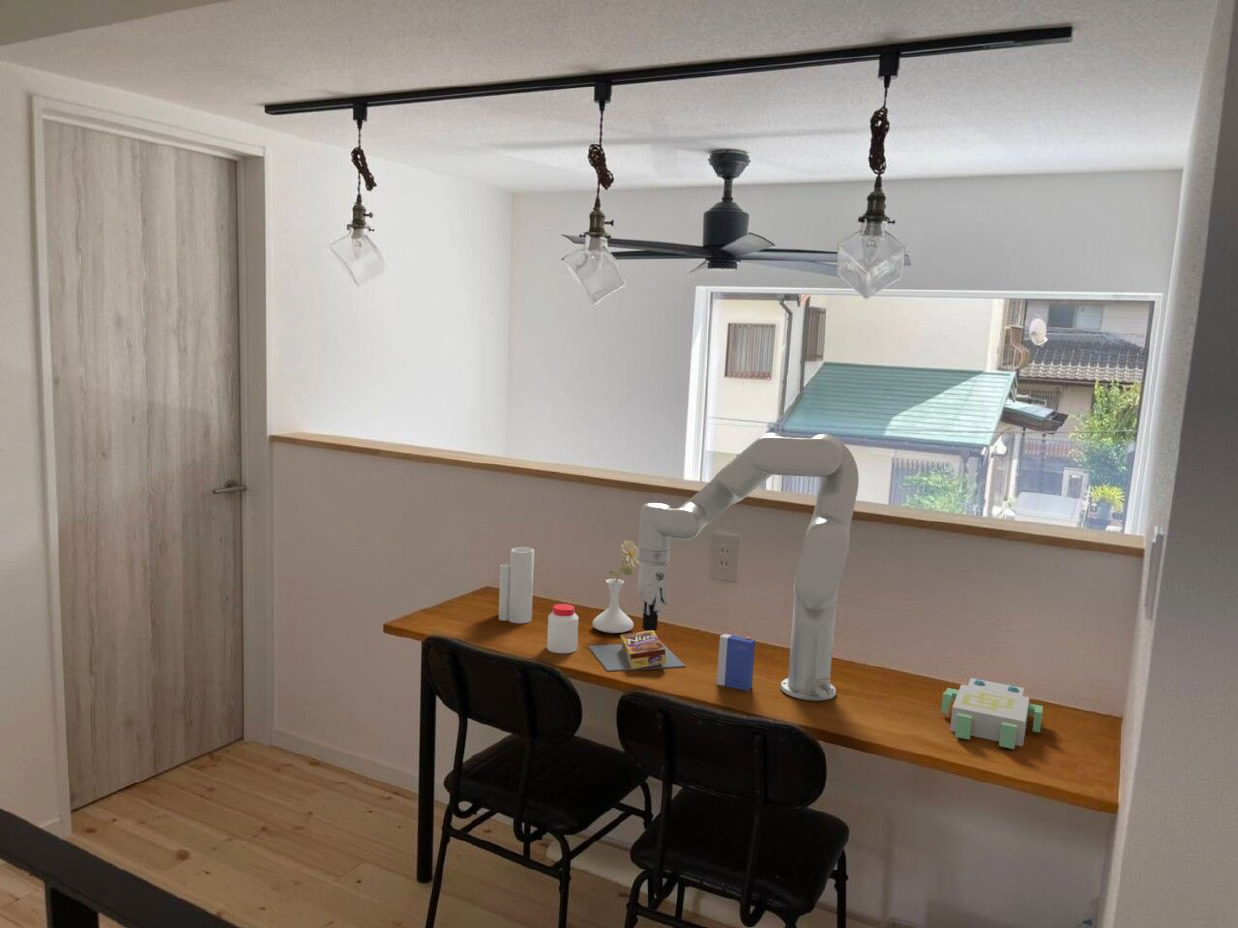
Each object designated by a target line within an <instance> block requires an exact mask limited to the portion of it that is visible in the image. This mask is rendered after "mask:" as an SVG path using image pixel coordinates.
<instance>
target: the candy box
mask: <svg viewBox="0 0 1238 928" xmlns="http://www.w3.org/2000/svg"><path fill="white" fill-rule="evenodd" d="M661 642H662V641H661V640H660V639H659V637H658V635H657V634H656V632H655V630H653V631H645V630H643V631H636V632H629V633H627V632H626V633H621V634H620V644H621V645H622V650H623V652H624V654H625V656H626V658H627V661H628V663H629V665H630V667H631V669H636V668H642V667H650V666H656V665H663V664H666V654H665V648H664V646H663V645H662V643H663V642H662V643H661Z"/></svg>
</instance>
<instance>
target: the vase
mask: <svg viewBox="0 0 1238 928" xmlns="http://www.w3.org/2000/svg"><path fill="white" fill-rule="evenodd" d="M509 552H510V557H509V564H506V563H505V564H500V565H499V591H498V592H499V595H498V597H499V599H498V620H499V621H504V622H505V621H506V622H507V621H508V622H510V623H513V624H527V623H528V624H529V623H530V622H532V620H533V619H532V617H533V596H534V595H533V592H534V568H535V567H534V564H535V563H534V561H535V549H534V548H530V547H513V548H510V551H509Z"/></svg>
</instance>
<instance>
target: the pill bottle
mask: <svg viewBox="0 0 1238 928" xmlns="http://www.w3.org/2000/svg"><path fill="white" fill-rule="evenodd" d="M575 609H576V608H575V605H572V604H568V603H557V604H554V605H553V606H552V612H550V614H549V615H548V617H547V637H546V638H547V640H546V641H547V642H546V650H547V651H549V652H551V653H555V654H570V653H575V652H576V651H577V650H578V638H579V637H578V636H579V635H578V634H579V616H578V615H577V613H576V612H575Z"/></svg>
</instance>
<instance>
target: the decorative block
mask: <svg viewBox="0 0 1238 928" xmlns="http://www.w3.org/2000/svg"><path fill="white" fill-rule="evenodd" d="M1024 691H1025V688H1024V687H1020V686H1015V685H1009V684H1004V683H999V682H992V681H988V680H983V679H978V678H974V677H973V678H972V677H971V678H970V679H969V681H968V684H967V685H966V684H960V686H959V689H955V688H951V687H947V688H946V690H945V691H943V693H942V699H941V700H942V701H941V711H940V712H941V713H943V714H949V713H950V712H949V711H950V704H951V702H952V700H954V702H953V704H952V707H951V718H950V728H949V729H950V732H953V733H954V737H955V738H959V739H965V740H971V736H972V737H976V738H981V739H985V740H989V741H990V740H991V741H994V742H999V743H998V746H999V747H1003V748H1007V749H1011V750H1015V747H1016V746H1018V747H1021V748H1022V747H1024V740H1025V737H1026V736H1025V735H1026V729H1027V723H1028V715H1030V716H1033V722H1032V732H1035V733H1040V732H1041V726H1042V719H1043V710H1044V709H1043V708H1044V706H1043V705H1039V704H1034V703H1033V704H1032V703H1030V696H1029V697H1028V696H1024Z"/></svg>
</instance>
